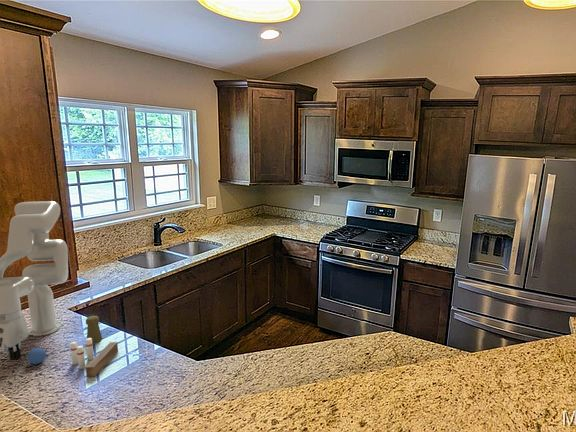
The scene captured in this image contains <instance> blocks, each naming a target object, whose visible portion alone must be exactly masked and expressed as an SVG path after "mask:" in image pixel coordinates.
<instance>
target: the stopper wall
mask: <svg viewBox="0 0 576 432" xmlns="http://www.w3.org/2000/svg"><path fill="white" fill-rule="evenodd" d="M118 346H119V345H118V342H117V341H114V342H113V341H109V342H108V344H107V345H105V347H104V348H103V349H102V350H100V352H99V353H98V354H97V355H96V356H94V359H93V360H90V362H89V363H88V364H87V365H85V371H86V372H85V373H86V377H87V378H96V376H97V375H99V374H100V372H101V371H102V370H103V369H104V368H105V367H106V365H107V364H108V363H109V362H110V361H111V360H112V359H111V358H114V356H115V355H116V354H117V353H118V352H119V348H118ZM110 359H111V360H110ZM109 360H110V361H109ZM102 368H103V369H102Z"/></svg>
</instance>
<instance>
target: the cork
mask: <svg viewBox="0 0 576 432" xmlns="http://www.w3.org/2000/svg"><path fill="white" fill-rule="evenodd" d="M99 322H100V317H99V316H98V315H90V316H88V317H87V318H86V319H85V325H87V329H86V330H87V332H86V339H87V338H92V344H93V345H94V344H98V343H99V342H101V341H102V340H103V337H102V333H101V329H100V324H99Z"/></svg>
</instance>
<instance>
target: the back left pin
mask: <svg viewBox="0 0 576 432" xmlns="http://www.w3.org/2000/svg"><path fill="white" fill-rule="evenodd" d="M93 345H94V344H92V338H87V337H86V339H85V347H86V348H85V349H86V357H87V361H90V362H91V361H92V360H93V359H94V358H95V356H94V348H93V347H94V346H93Z"/></svg>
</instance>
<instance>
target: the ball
mask: <svg viewBox="0 0 576 432" xmlns="http://www.w3.org/2000/svg"><path fill="white" fill-rule="evenodd" d="M46 356H47V352H46V350H45V349H44V348H43V347H42V348H41V347H35V348H32V349H31V350H30V351H28V354H27V361H28V362H29V363H30V364H32V365H38V364H40V363H43V361H45V359H46Z"/></svg>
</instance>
